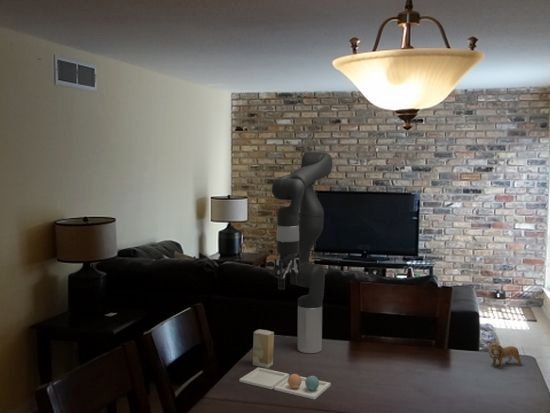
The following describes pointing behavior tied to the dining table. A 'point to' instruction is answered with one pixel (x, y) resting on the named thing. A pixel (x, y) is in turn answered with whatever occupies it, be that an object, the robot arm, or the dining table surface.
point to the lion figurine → (503, 354)
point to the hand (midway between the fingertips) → (287, 287)
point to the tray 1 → (264, 378)
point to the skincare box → (263, 348)
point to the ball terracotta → (294, 381)
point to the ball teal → (312, 383)
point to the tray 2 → (302, 388)
